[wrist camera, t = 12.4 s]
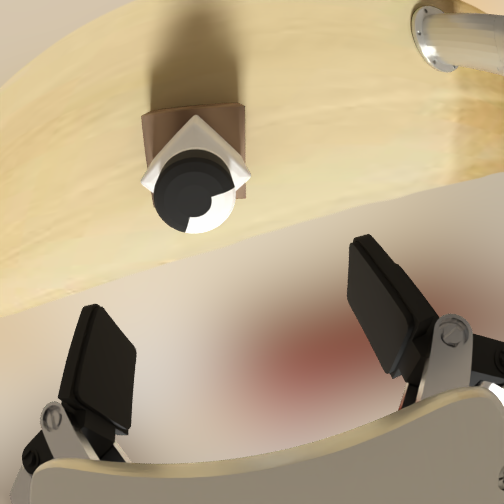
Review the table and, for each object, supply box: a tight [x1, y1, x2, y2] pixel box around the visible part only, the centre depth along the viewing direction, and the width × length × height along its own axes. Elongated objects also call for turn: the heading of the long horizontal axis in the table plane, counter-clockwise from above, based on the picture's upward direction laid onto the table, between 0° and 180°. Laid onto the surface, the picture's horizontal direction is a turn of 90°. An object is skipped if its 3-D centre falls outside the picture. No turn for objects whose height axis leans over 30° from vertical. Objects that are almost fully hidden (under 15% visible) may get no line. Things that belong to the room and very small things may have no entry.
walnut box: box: [141, 103, 246, 207], centre depth 31 cm, size 11×11×6 cm
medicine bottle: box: [141, 115, 251, 233], centre depth 23 cm, size 7×7×12 cm
